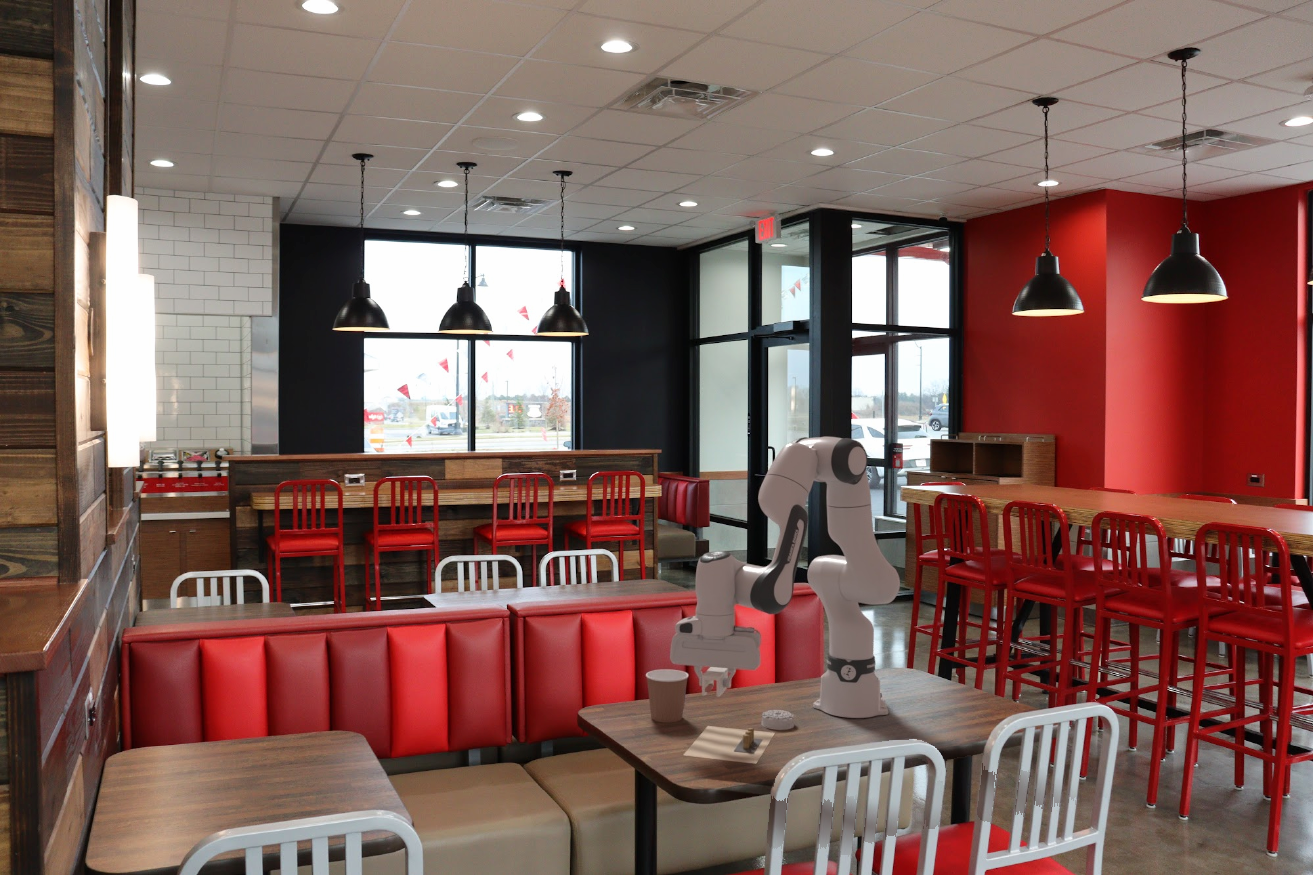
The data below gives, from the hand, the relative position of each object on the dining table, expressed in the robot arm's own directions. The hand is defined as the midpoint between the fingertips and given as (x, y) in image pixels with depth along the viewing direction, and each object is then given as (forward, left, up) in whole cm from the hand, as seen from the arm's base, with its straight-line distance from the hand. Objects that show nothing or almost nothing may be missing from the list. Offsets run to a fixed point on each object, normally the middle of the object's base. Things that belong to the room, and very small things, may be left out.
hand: (715, 686), depth 229 cm
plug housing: (+2, 0, -1) cm, 2 cm away
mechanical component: (-17, +11, -14) cm, 25 cm away
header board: (0, +4, -14) cm, 14 cm away
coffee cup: (-14, -15, -14) cm, 25 cm away
